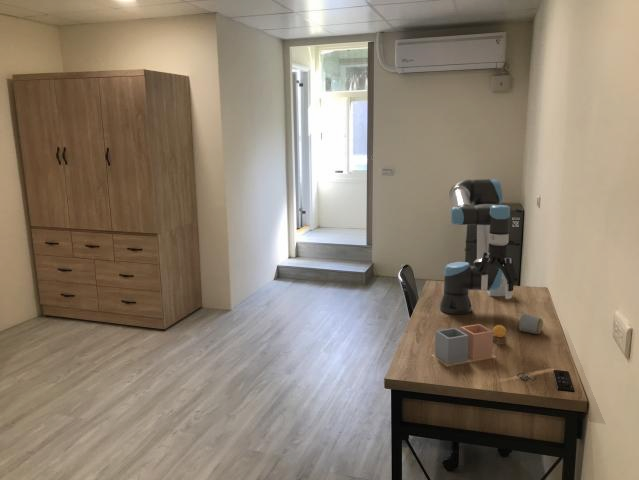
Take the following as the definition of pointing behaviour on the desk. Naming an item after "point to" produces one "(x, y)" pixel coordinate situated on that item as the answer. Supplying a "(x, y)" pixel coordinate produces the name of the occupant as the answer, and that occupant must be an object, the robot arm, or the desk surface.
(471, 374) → the desk surface
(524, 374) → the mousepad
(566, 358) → the desk surface
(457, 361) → the double square tube
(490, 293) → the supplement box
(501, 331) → the ball
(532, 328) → the ceramic mug
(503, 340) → the stand
